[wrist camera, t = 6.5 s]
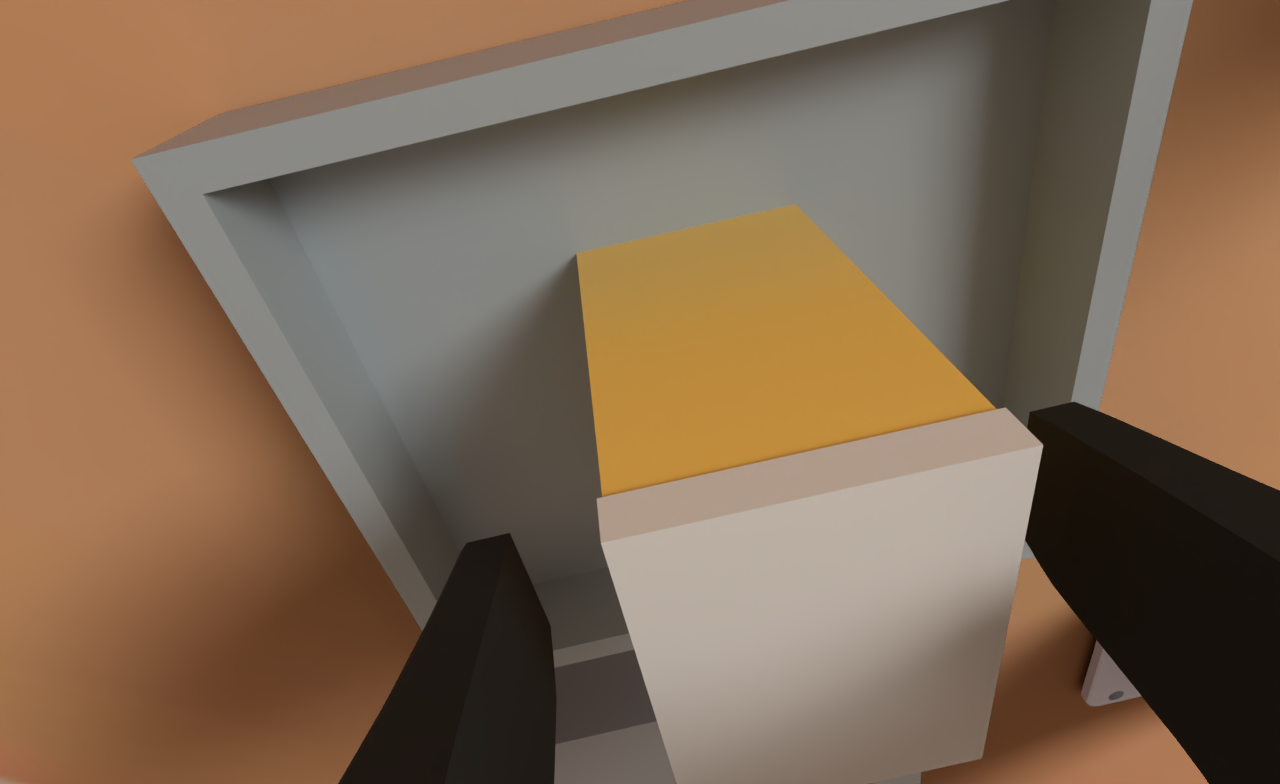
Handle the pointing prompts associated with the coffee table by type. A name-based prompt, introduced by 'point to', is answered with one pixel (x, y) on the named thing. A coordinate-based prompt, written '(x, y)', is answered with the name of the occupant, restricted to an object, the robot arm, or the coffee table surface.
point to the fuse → (798, 507)
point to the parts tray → (652, 205)
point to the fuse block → (614, 726)
